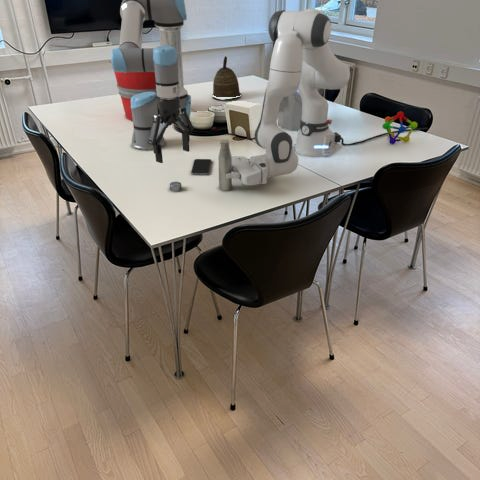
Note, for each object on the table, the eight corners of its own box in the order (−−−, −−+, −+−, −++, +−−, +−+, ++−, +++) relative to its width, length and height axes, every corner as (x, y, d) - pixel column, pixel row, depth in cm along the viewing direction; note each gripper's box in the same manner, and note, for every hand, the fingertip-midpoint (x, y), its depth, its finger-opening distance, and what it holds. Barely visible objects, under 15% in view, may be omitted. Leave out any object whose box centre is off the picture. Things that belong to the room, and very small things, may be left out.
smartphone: (190, 173, 177) (194, 158, 190) (190, 174, 178) (194, 160, 190) (208, 173, 177) (211, 159, 190) (209, 174, 178) (211, 160, 190)
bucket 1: (124, 106, 262) (117, 51, 246) (183, 106, 262) (180, 52, 246) (108, 124, 233) (99, 63, 217) (174, 124, 232) (170, 64, 216)
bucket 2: (296, 138, 215) (301, 78, 201) (255, 124, 234) (256, 68, 219) (335, 125, 232) (342, 70, 217) (294, 113, 251) (297, 61, 236)
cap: (175, 192, 164) (175, 187, 163) (167, 189, 166) (167, 184, 165) (183, 188, 167) (183, 183, 166) (175, 185, 169) (175, 180, 168)
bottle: (218, 185, 169) (217, 139, 159) (231, 185, 170) (231, 139, 160) (219, 191, 165) (218, 143, 155) (232, 190, 166) (232, 143, 156)
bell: (227, 105, 294) (202, 96, 282) (238, 66, 289) (213, 55, 277) (243, 108, 280) (217, 98, 268) (255, 66, 275) (229, 55, 263)
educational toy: (377, 146, 209) (379, 114, 202) (384, 138, 219) (386, 107, 211) (411, 149, 202) (415, 116, 195) (417, 141, 212) (420, 109, 204)
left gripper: (148, 107, 138) (154, 170, 150) (201, 90, 155) (203, 148, 166) (132, 103, 142) (139, 164, 154) (186, 87, 159) (189, 143, 170)
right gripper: (247, 150, 174) (213, 154, 170) (268, 169, 158) (232, 175, 154) (246, 165, 178) (214, 170, 173) (268, 185, 162) (232, 191, 157)
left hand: (173, 156), depth 160 cm, fingers open, 13 cm apart
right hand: (223, 172), depth 164 cm, fingers closed on bottle, 5 cm apart
